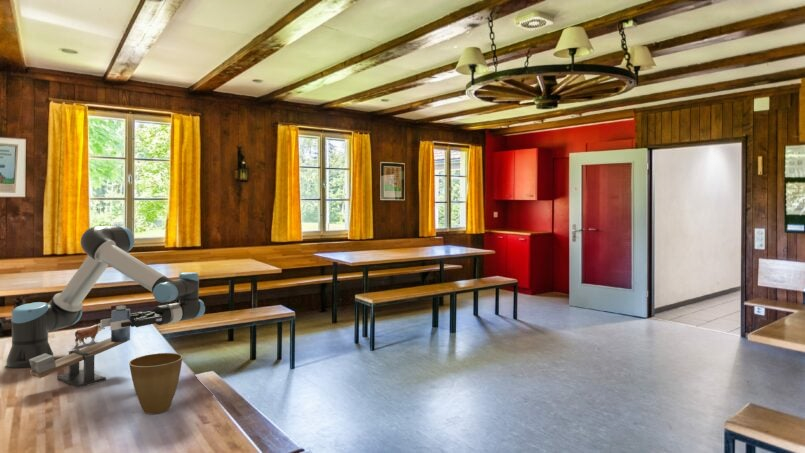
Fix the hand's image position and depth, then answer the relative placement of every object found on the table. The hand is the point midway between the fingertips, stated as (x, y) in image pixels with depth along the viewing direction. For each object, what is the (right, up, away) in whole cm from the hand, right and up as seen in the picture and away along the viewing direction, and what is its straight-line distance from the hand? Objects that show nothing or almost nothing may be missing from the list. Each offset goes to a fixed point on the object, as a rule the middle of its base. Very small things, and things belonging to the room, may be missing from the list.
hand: (106, 325), depth 174 cm
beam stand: (-12, -21, +5) cm, 25 cm away
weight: (+3, -6, +5) cm, 8 cm away
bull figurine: (-41, -19, +54) cm, 70 cm away
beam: (-12, -13, +5) cm, 18 cm away
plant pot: (+28, -23, -21) cm, 42 cm away
